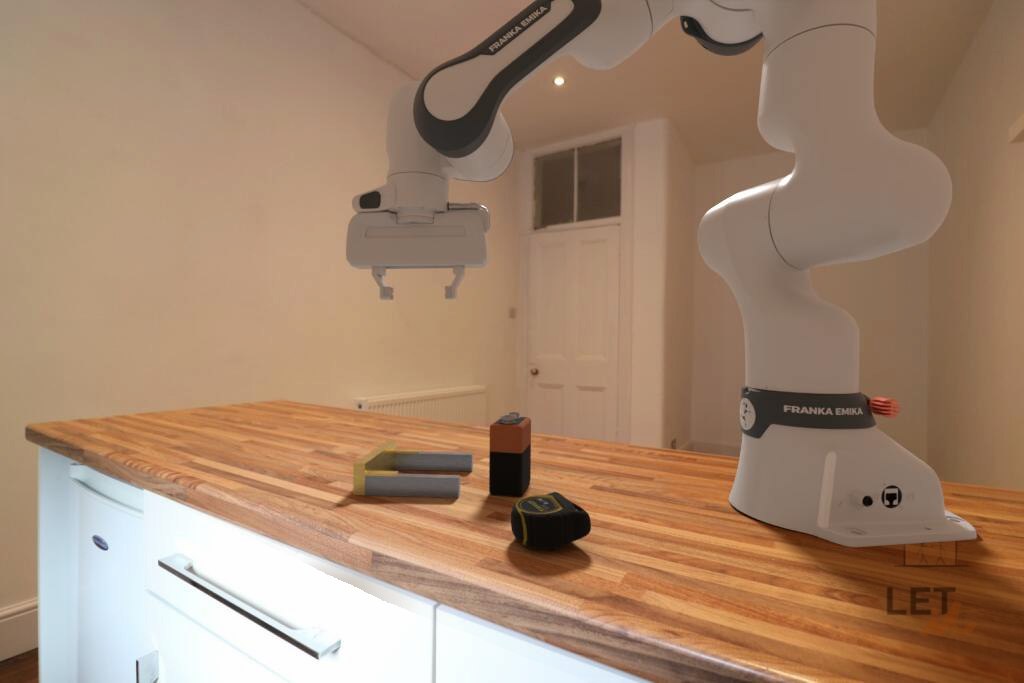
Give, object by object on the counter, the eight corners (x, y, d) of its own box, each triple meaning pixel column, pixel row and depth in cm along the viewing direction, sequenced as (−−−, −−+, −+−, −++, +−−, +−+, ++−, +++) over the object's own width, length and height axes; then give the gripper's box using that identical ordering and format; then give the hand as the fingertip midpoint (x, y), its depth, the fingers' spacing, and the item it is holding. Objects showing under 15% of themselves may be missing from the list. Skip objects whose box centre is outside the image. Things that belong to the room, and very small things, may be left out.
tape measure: (596, 546, 41) (592, 505, 41) (527, 565, 39) (522, 522, 39) (565, 521, 48) (561, 486, 48) (504, 536, 46) (500, 499, 46)
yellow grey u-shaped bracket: (472, 469, 68) (473, 443, 68) (458, 498, 56) (458, 466, 56) (386, 466, 69) (386, 441, 69) (353, 494, 57) (353, 463, 57)
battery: (488, 495, 57) (488, 417, 57) (501, 479, 64) (501, 409, 64) (521, 498, 56) (522, 419, 56) (531, 481, 63) (531, 410, 63)
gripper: (492, 208, 67) (492, 300, 67) (358, 210, 68) (359, 301, 68) (487, 195, 61) (488, 296, 61) (340, 198, 62) (341, 298, 62)
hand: (418, 299), depth 65 cm, fingers open, 8 cm apart
